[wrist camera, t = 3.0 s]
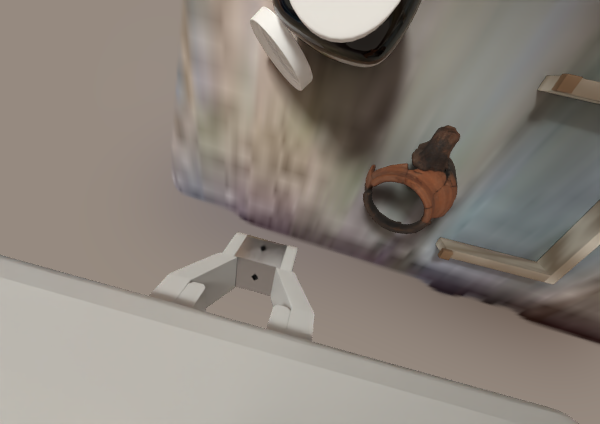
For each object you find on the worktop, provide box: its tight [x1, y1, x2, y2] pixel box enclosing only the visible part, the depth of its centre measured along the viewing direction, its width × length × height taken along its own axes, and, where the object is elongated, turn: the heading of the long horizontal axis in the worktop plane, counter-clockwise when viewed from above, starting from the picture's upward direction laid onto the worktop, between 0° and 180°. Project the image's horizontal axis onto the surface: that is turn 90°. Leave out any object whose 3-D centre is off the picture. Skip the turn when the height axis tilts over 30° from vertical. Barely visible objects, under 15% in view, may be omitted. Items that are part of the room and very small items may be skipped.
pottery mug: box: [363, 125, 460, 234], centre depth 25 cm, size 12×10×8 cm
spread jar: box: [250, 0, 421, 91], centre depth 17 cm, size 12×11×12 cm
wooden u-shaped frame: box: [436, 74, 600, 285], centre depth 25 cm, size 20×15×3 cm
